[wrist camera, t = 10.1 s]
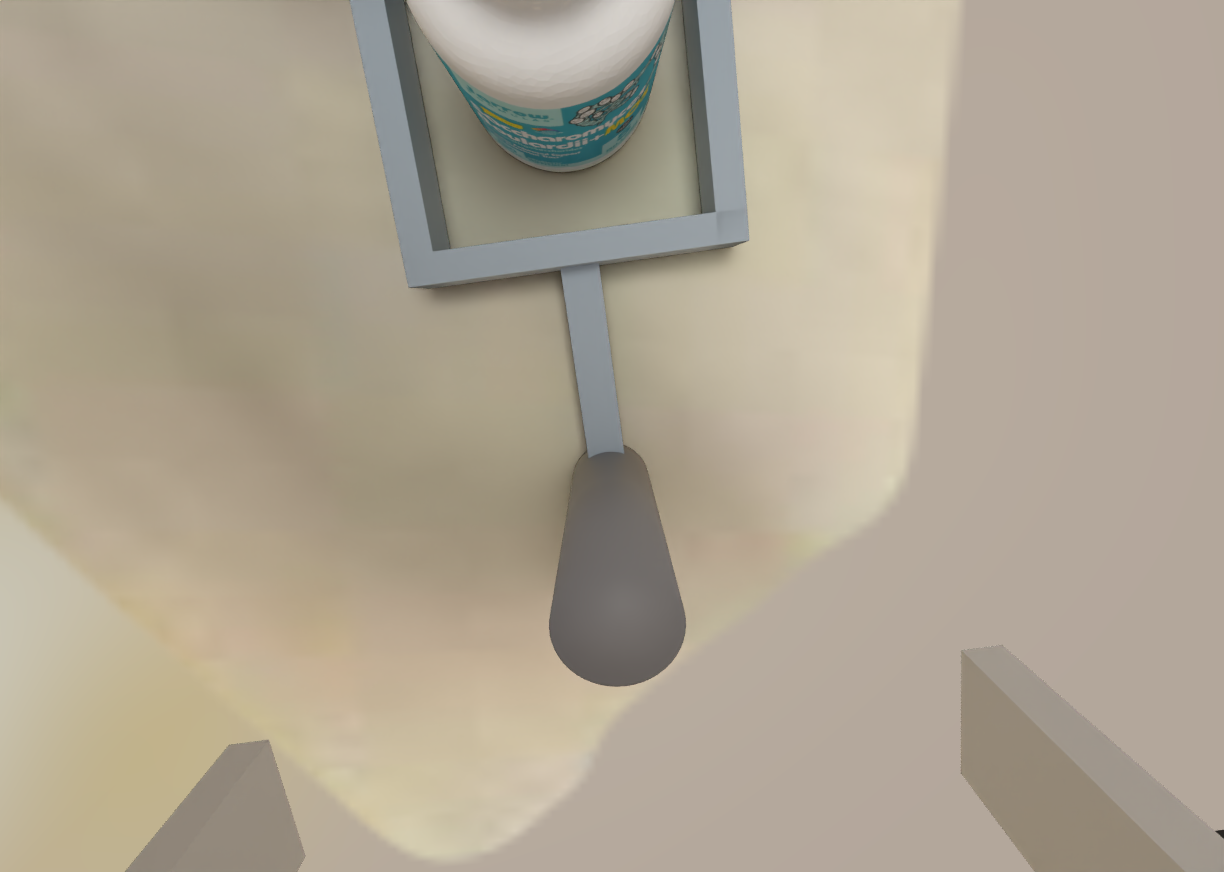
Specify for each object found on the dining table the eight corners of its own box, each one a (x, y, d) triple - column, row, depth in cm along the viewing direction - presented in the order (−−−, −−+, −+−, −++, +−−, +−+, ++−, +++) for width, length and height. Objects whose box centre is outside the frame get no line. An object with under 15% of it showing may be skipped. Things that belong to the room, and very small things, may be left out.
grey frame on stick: (366, -34, 24) (91, -420, 11) (705, -83, 23) (827, -535, 11) (478, 533, 29) (381, 717, 16) (754, 497, 29) (873, 654, 16)
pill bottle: (492, 190, 26) (377, 78, 12) (453, -4, 24) (271, -370, 11) (665, 159, 25) (731, 11, 12) (637, -39, 24) (679, -454, 11)
